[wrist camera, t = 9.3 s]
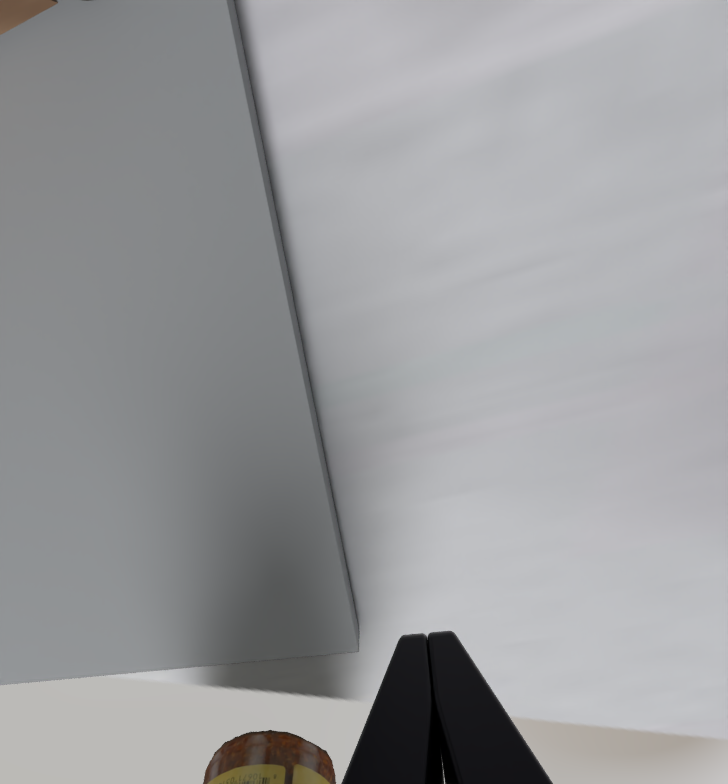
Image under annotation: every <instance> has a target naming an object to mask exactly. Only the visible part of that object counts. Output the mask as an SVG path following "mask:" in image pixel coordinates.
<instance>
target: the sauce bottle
mask: <svg viewBox="0 0 728 784" xmlns="http://www.w3.org/2000/svg"><path fill="white" fill-rule="evenodd" d="M203 784H336V782H335V773H334V769H333V764H332V760H331V759H330V757H329V755H328V754H327V752H326V751H325V750H322V749H321V748H320V747H319V746H316V745H315V744H313V743H311V742H309V741H306V740H305V739H303V738H301V737H299V736H297V735H294V734H291V733H288V732H277V731H272V730H269V731H261V732H249V733H246V734H243V735H241V736H239V737H235V738H234V739H232V740H230V741H227V742H225V743H224V744H223V745H222V747H221V748H220V749H218V750H217V752H215V754H214V756H213V758H212V760H211V761H210V763H209V765H208V767H207V769H206V772H205V777H204V783H203Z"/></svg>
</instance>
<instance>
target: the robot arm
mask: <svg viewBox="0 0 728 784" xmlns="http://www.w3.org/2000/svg"><path fill="white" fill-rule="evenodd" d="M442 763H443V765H442ZM443 770H444V775H443ZM444 778H445V784H553V783H552V781H551V780H550V779H549V777H548V775H547V774H546V772H545V771H544V769H543V768H542V766H541V765H540V763H539V762H538V760H537V759H536V757H535V755H534V754H533V752H532V751H531V749H530V748H529V746H528V745H527V743H526V742H525V740H524V739H523V737H522V735H521V734H520V732H519V731H518V729H517V728H516V726H515V725H514V723H513V722H512V720H511V719H510V717H509V716H508V714H507V712H506V711H505V709H504V708H503V706H502V705H501V703H500V702H499V700H498V699H497V697H496V696H495V694H494V693H493V691H492V689H491V688H490V686H489V685H488V683H487V682H486V680H485V679H484V677H483V676H482V674H481V673H480V671H479V670H478V668H477V667H476V665H475V663H474V662H473V660H472V659H471V657H470V656H469V654H468V653H467V651H466V650H465V648H464V647H463V645H462V644H461V642H460V640H459V639H458V637H457V636H456V635H455V633H454V632H452V631H442V632H432V633H430V634H429V635H428V639H427V636H426V635H425V634H423V633H421V634H410V635H403V636H402V637H401V638H400V639H399V641H398V644H397V646H396V649H395V651H394V654H393V656H392V659H391V661H390V664H389V666H388V669H387V671H386V674H385V676H384V679H383V681H382V684H381V686H380V689H379V691H378V694H377V696H376V699H375V701H374V704H373V706H372V709H371V711H370V714H369V716H368V719H367V721H366V724H365V726H364V729H363V731H362V734H361V736H360V739H359V741H358V744H357V746H356V749H355V751H354V754H353V756H352V759H351V761H350V764H349V767H348V769H347V771H346V774H345V776H344V779H343V782H342V784H444Z"/></svg>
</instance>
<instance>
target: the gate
mask: <svg viewBox="0 0 728 784" xmlns="http://www.w3.org/2000/svg"><path fill="white" fill-rule="evenodd" d="M82 1H92V0H82ZM57 3H58V1H57V0H0V35H1V34H3V33H5V32H7V31H9V30H10V29H12V28H14V27H16V26H18V25H19V24H21V23H23V22H25V21H27V20H29V19H30V18H32V17H34V16H36V15H38V14H39V13H41V12H43V11H45V10H47V9H48V8H50V7H52V6H54V5H56V4H57Z"/></svg>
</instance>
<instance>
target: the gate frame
mask: <svg viewBox="0 0 728 784" xmlns="http://www.w3.org/2000/svg"><path fill="white" fill-rule="evenodd" d="M57 1H58V3H57V4H56V5H54V6H52V7H50V8H48V9H47V10H45V11H43V12H41V13H39V14H38V15H36V16H34V17H32V18H30V19H29V20H27V21H25V22H23V23H21V24H19V25H18V26H16V27H14V28H12V29H10V30H9V31H7V32H5V33H3V34H1V35H0V685H7V684H18V683H29V682H38V681H39V682H40V681H50V680H61V679H72V678H82V677H93V676H104V675H115V674H126V673H136V672H147V671H158V670H169V669H180V668H190V667H201V666H212V665H223V664H233V663H244V662H255V661H266V660H276V659H287V658H298V657H309V656H319V655H330V654H341V653H352V652H359V628H358V623H357V618H356V613H355V608H354V603H353V598H352V593H351V588H350V583H349V577H348V572H347V567H346V562H345V557H344V552H343V547H342V542H341V537H340V532H339V527H338V522H337V517H336V512H335V507H334V502H333V497H332V492H331V487H330V482H329V477H328V472H327V467H326V462H325V457H324V452H323V447H322V442H321V437H320V432H319V426H318V421H317V416H316V411H315V406H314V401H313V396H312V391H311V386H310V381H309V376H308V371H307V366H306V361H305V356H304V351H303V346H302V341H301V336H300V331H299V326H298V321H297V316H296V311H295V306H294V301H293V296H292V291H291V286H290V281H289V276H288V270H287V265H286V260H285V255H284V250H283V245H282V240H281V235H280V230H279V225H278V220H277V215H276V210H275V205H274V200H273V195H272V190H271V185H270V180H269V175H268V170H267V165H266V160H265V155H264V150H263V145H262V140H261V135H260V130H259V125H258V119H257V114H256V109H255V104H254V99H253V94H252V89H251V84H250V79H249V74H248V69H247V64H246V59H245V54H244V49H243V44H242V39H241V34H240V29H239V24H238V19H237V14H236V9H235V4H234V0H92V1H82V0H57Z"/></svg>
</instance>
